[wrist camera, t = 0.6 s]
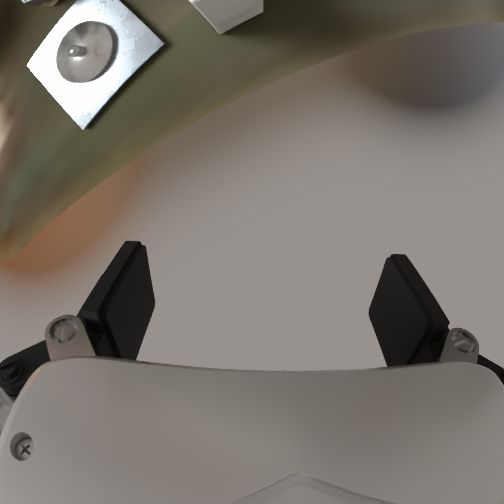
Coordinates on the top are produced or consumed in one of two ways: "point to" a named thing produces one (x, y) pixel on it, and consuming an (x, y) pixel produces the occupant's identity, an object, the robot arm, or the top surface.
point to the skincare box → (228, 12)
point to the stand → (51, 3)
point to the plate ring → (35, 2)
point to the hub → (93, 56)
